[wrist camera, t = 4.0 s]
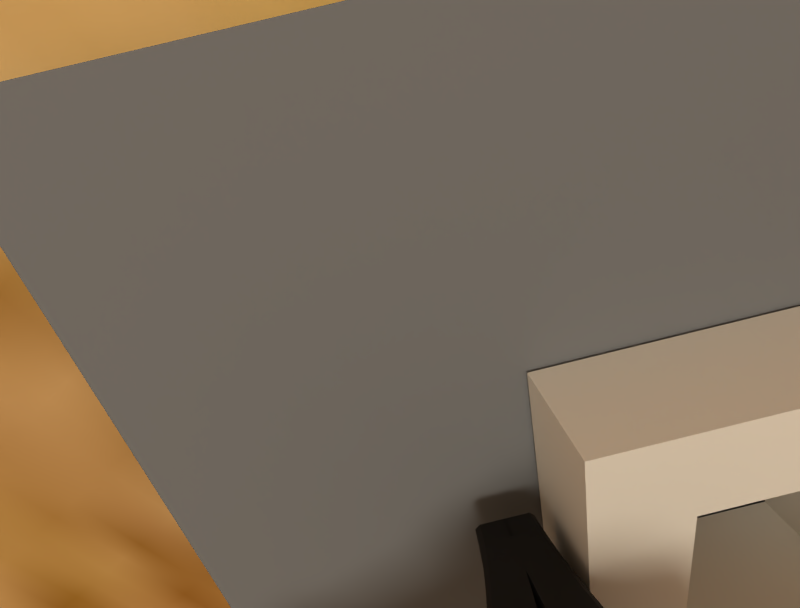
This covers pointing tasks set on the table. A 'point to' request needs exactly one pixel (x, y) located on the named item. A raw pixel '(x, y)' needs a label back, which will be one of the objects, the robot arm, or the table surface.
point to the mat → (393, 256)
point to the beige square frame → (677, 467)
